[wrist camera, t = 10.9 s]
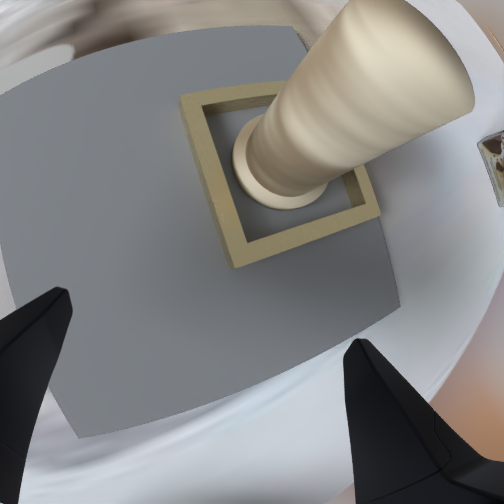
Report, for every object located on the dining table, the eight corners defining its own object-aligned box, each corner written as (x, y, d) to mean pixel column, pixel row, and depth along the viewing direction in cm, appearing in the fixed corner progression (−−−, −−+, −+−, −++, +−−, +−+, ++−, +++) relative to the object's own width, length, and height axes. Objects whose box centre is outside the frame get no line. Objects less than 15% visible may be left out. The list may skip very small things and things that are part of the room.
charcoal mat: (393, 305, 20) (400, 306, 19) (81, 432, 13) (78, 438, 12) (288, 31, 19) (292, 26, 18) (-1, 102, 12) (-5, 98, 11)
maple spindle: (326, 213, 17) (501, 156, 6) (231, 209, 16) (368, 90, 4) (318, 127, 18) (447, 24, 6) (231, 115, 16) (317, -46, 5)
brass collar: (367, 218, 18) (381, 215, 17) (229, 268, 16) (235, 268, 14) (316, 89, 18) (326, 79, 17) (178, 108, 15) (179, 95, 14)
